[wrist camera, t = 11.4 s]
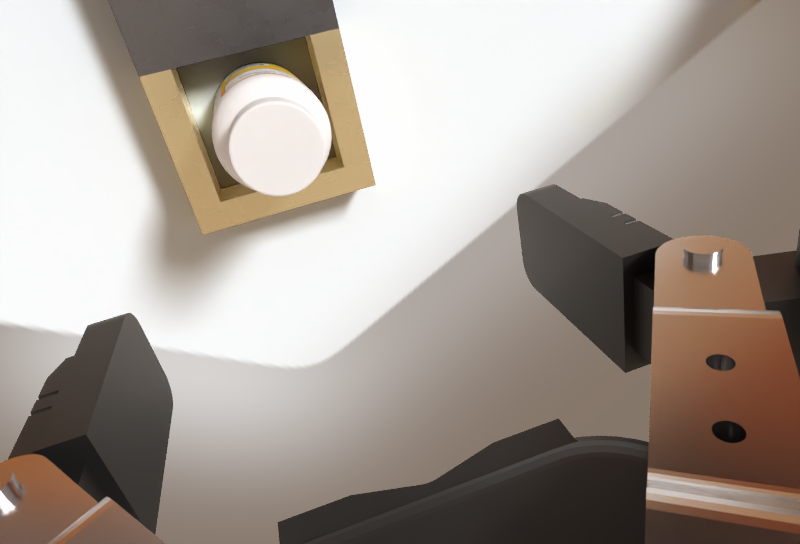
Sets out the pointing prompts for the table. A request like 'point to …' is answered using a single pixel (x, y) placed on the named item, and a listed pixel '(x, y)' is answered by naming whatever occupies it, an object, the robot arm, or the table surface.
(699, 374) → the robot arm
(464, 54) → the table surface
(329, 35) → the rail
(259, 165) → the supplement bottle
